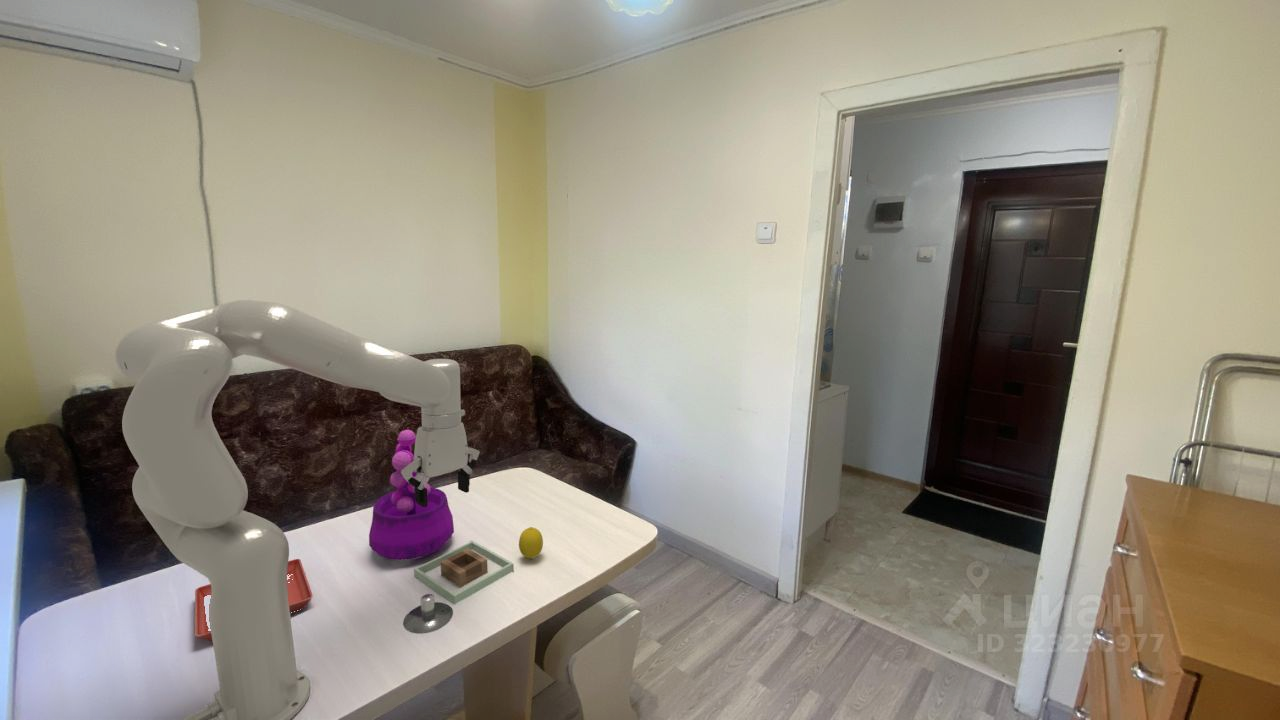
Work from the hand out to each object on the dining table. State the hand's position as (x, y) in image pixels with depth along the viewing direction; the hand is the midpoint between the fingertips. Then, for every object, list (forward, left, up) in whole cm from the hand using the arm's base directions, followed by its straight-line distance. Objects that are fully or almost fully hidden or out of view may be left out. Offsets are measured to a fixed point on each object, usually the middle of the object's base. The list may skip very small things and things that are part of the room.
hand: (443, 497), depth 111 cm
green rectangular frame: (+3, -1, -20) cm, 20 cm away
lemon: (+17, -7, -20) cm, 27 cm away
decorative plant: (+2, +18, -20) cm, 27 cm away
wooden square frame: (+3, -1, -19) cm, 20 cm away
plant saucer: (-29, +23, -20) cm, 42 cm away
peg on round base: (-10, -8, -20) cm, 23 cm away
